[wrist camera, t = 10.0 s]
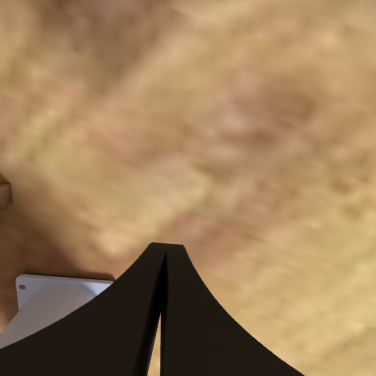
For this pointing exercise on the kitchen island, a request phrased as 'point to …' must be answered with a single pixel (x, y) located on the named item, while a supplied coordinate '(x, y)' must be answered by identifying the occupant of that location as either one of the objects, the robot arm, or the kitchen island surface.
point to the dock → (5, 195)
